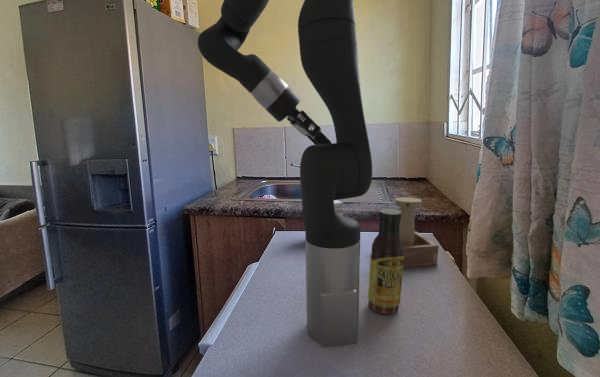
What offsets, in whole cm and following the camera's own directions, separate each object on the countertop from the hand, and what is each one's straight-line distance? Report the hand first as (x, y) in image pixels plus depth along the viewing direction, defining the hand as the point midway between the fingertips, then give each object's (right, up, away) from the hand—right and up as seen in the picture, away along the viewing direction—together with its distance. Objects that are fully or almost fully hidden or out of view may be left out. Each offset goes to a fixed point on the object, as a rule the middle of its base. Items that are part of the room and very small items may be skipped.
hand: (324, 144), depth 83 cm
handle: (+22, -28, +8) cm, 37 cm away
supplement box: (+2, -27, +23) cm, 35 cm away
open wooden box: (+23, -29, +9) cm, 38 cm away
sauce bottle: (+11, -34, -15) cm, 39 cm away
